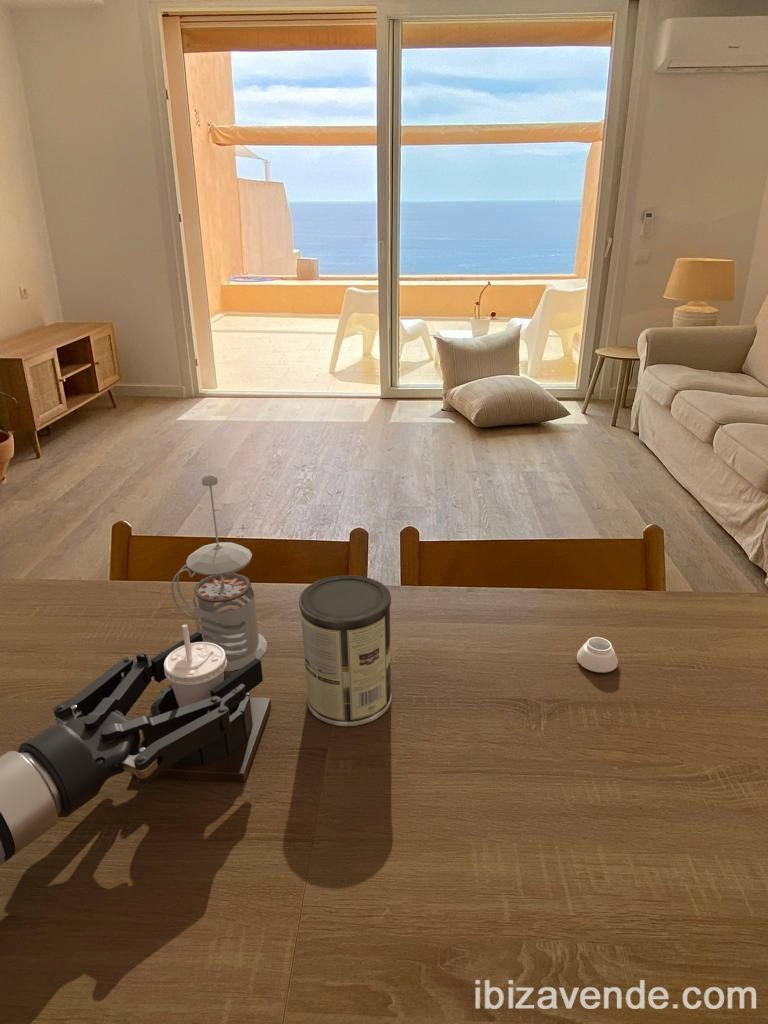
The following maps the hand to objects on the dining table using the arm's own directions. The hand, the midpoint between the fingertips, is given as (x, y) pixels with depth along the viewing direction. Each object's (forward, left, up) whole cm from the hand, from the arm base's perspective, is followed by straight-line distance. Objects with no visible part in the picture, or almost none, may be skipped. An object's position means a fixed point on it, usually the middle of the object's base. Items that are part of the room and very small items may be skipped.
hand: (229, 655), depth 77 cm
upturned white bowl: (+44, +13, -9) cm, 46 cm away
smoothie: (-2, -4, -7) cm, 9 cm away
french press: (-5, +13, -9) cm, 16 cm away
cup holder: (-2, -4, -8) cm, 10 cm away
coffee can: (+13, +4, -9) cm, 16 cm away
